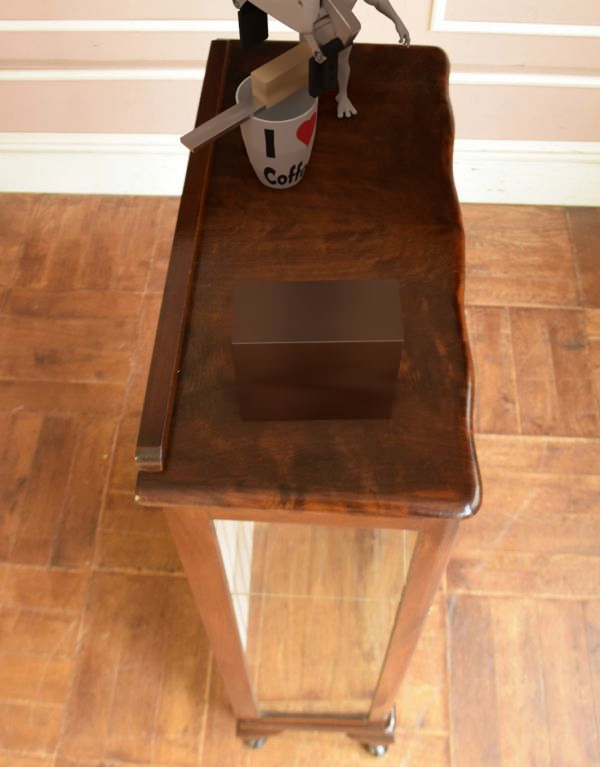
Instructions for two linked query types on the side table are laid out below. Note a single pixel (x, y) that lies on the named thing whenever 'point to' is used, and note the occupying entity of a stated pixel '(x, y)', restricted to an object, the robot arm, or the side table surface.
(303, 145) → the cup
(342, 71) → the figurine
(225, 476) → the side table surface
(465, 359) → the side table surface
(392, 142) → the side table surface
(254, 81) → the knife
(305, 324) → the dark rectangular block
